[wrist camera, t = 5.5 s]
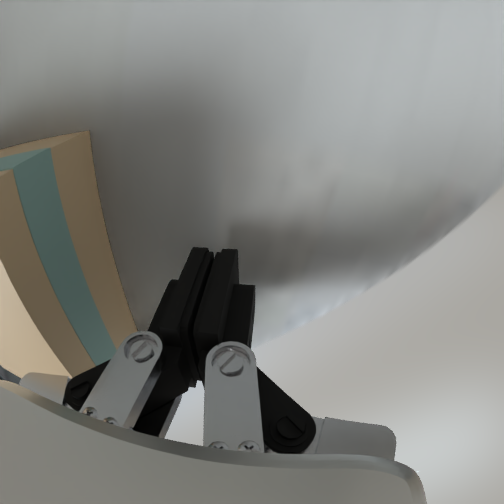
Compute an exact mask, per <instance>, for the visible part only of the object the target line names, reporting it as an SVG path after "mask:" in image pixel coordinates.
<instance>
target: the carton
mask: <svg viewBox="0 0 504 504" xmlns="http://www.w3.org/2000/svg"><path fill="white" fill-rule="evenodd" d="M135 332H138V331H137V328H136V326H135V323H134V320H133V317H132V315H131V312H130V309H129V306H128V303H127V300H126V297H125V294H124V291H123V288H122V285H121V281H120V278H119V275H118V271H117V268H116V264H115V261H114V257H113V254H112V250H111V246H110V242H109V238H108V234H107V230H106V226H105V221H104V217H103V212H102V208H101V203H100V198H99V193H98V187H97V182H96V176H95V170H94V163H93V156H92V149H91V141H90V132H89V131H83V132H77V133H71V134H65V135H60V136H55V137H50V138H45V139H40V140H36V141H31V142H27V143H23V144H19V145H15V146H11V147H8V148H4V149H1V150H0V365H1V366H2V367H3V368H5V369H6V370H8V371H10V372H11V373H13V374H15V375H17V376H18V377H20V378H23V377H24V375H26V374H28V373H30V372H36V373H44V374H52V375H62V376H69V378H70V379H72V378H74V377H75V376H77V375H79V374H81V373H83V372H85V371H87V370H89V369H91V368H93V367H95V366H97V365H99V364H102V363H104V362H106V361H108V360H110V359H112V357H113V355H114V354H115V352H116V351H117V349H118V348H119V346H120V345H121V343H122V342H123V340H124V339H125V338H126V337H127V336H129V335H130V334H132V333H135Z"/></svg>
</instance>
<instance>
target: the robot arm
mask: <svg viewBox="0 0 504 504" xmlns="http://www.w3.org/2000/svg"><path fill="white" fill-rule="evenodd" d="M254 313H255V285H242V284H239V272H238V250H237V249H222V251H221V252H217V253H216V256H215V259H214V253H213V252H209V250H208V248H200V247H193V248H192V250H191V253H190V255H189V257H188V259H187V262H186V264H185V266H184V268H183V271H182V273H181V275H180V277H179V280H173V279H172V280H171V281H170V282H169V284H168V286H167V288H166V290H165V293H164V295H163V297H162V299H161V301H160V304H159V306H158V308H157V311H156V313H155V315H154V317H153V320H152V322H151V324H150V327H149V329H148V331H138V332H135V333H132V334H130V335H129V336H127V337H126V338H125V339H124V340H123V342H122V343H121V345H120V346H119V348H118V349H117V351H116V352H115V354H114V355H113V357H112V359H110V360H108V361H106V362H104V363H102V364H99V365H97V366H95V367H93V368H91V369H89V370H87V371H85V372H83V373H81V374H79V375H77V376H75V377H74V378H72V379H70V378H69V376H62V375H52V374H44V373H36V372H30V373H28V374H26V375H24V377H23V378H22V379H21V381H20V383H19V385H18V384H15V383H12V382H9V381H4V380H0V504H427V502H426V497H425V492H424V488H423V485H422V482H421V480H420V478H419V476H418V475H417V473H416V472H415V471H414V470H413V469H411V468H410V467H408V466H406V465H404V464H402V463H399V462H397V461H394V457H395V450H396V437H395V435H394V433H393V431H392V430H390V429H389V428H388V427H386V426H382V425H375V424H367V423H360V422H353V421H345V420H340V419H334V418H328V417H325V419H322V418H316V417H312V416H311V415H310V414H309V413H308V412H307V411H305V410H304V409H303V408H302V407H301V406H300V405H298V404H297V403H296V402H295V401H294V400H293V399H292V398H291V397H289V396H288V395H287V394H286V393H285V392H284V391H283V390H282V389H280V388H279V387H278V386H277V385H276V384H275V383H274V382H273V381H272V380H271V379H270V378H268V377H267V376H266V375H265V374H264V373H263V372H262V371H261V370H260V369H259V368H258V367H257V366H256V358H255V355H254V353H253V351H252V350H251V342H252V333H253V324H254ZM197 380H199V381H201V380H202V383H203V386H204V390H205V393H204V396H205V397H204V436H203V446H198V445H193V444H187V443H182V442H177V441H173V440H168V439H164V438H165V435H166V433H167V431H168V429H169V426H170V424H171V422H172V419H173V417H174V415H175V413H176V410H177V408H178V406H179V404H180V401H181V398H182V394H183V393H185V392H187V391H188V388H189V387H194V388H195V387H196V383H197Z"/></svg>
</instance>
